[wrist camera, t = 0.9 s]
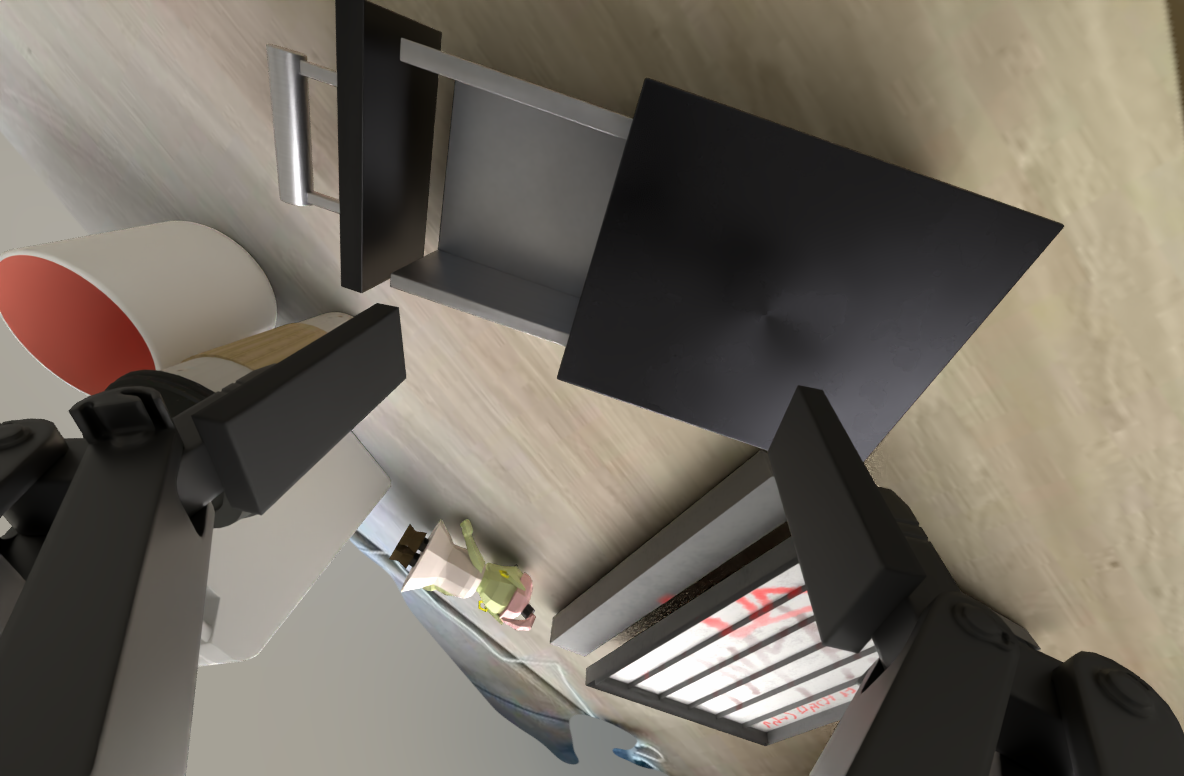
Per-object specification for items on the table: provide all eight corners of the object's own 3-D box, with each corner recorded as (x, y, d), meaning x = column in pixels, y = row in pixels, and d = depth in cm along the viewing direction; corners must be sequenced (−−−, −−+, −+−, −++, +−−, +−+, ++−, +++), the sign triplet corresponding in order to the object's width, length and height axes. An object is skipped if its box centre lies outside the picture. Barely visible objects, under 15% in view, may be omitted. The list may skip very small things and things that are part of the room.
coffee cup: (349, 414, 39) (192, 553, 26) (265, 321, 35) (35, 429, 23) (429, 374, 35) (292, 512, 23) (345, 266, 32) (125, 357, 19)
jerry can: (246, 367, 38) (-290, 666, 17) (284, 349, 36) (-259, 655, 15) (357, 493, 44) (66, 828, 23) (393, 482, 43) (117, 833, 21)
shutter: (983, 575, 44) (755, 436, 35) (1042, 648, 38) (786, 502, 29) (752, 696, 58) (550, 619, 49) (769, 762, 52) (543, 689, 44)
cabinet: (584, 319, 31) (556, 379, 23) (653, 93, 24) (645, 76, 16) (807, 395, 31) (850, 479, 24) (943, 195, 24) (1067, 225, 16)
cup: (310, 303, 34) (188, 361, 25) (248, 363, 38) (125, 431, 29) (196, 187, 31) (11, 209, 22) (142, 267, 35) (-32, 312, 26)
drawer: (335, 231, 30) (252, 256, 24) (329, -8, 23) (211, -55, 17) (624, 330, 30) (612, 379, 24) (700, 123, 23) (710, 121, 17)
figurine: (391, 554, 46) (516, 611, 49) (361, 605, 39) (510, 668, 42) (430, 489, 44) (557, 551, 47) (406, 529, 37) (557, 600, 40)
